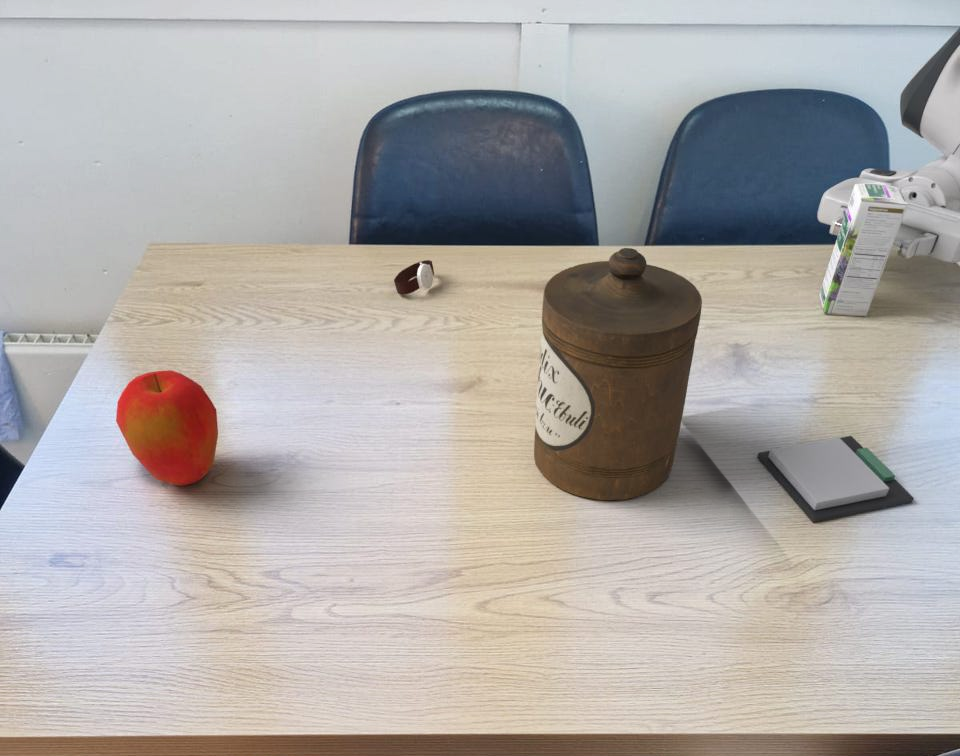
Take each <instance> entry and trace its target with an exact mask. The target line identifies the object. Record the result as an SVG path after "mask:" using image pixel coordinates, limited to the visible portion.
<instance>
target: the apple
mask: <svg viewBox="0 0 960 756" xmlns="http://www.w3.org/2000/svg"><path fill="white" fill-rule="evenodd" d="M217 412H218V411H217V409H216V407H215V405H214V403H213V401H212V399H211V398H210V396H209V395H208V393H207V392H206V391H205V389H204V388H203V387H202V385H201V384H199V383H198V382H196V381H194V380H193V379H192V378H190V377H188V376H186V375H184V374H183V373H180V372H177V371H175V370H172V369H171V370H157V371H151V372H150V371H149V372H146V373H143V374H140V375H138V376H135V378H133V379H131V380H130V381H129V382H128V383H127V385H126V387H124V389H123V391H122V392H121V393H120V396H119V399H118V401H117V406H116V415H115V422H116V424H117V426H118V428H119V431H120V432H121V434H122V436H123V439H124V440H125V442H126V445H127V446H128V448H129V450H130V452H131V454H132V455H133V457H135V459H136V460H137V461H138V462H139V463H140V464H141V465H142V466H143V468H145V469H146V471H147V472H148V473H149V474H150V475H151V476H152V477H153V478H154V479H155V480H158V481H161V482H164V483H167V484H171V485H175V486H190V485H192V484H195V483H197V482H199V481H200V480H201V479H203V478H204V477H205V476H206V475H207V473H208V472H209V471H210V470H211V469H212V467H213V465H214V463H215V458H216V452H217V444H218V439H219V438H218V437H219V427H218V426H219V425H218V413H217Z"/></svg>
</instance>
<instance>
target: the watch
mask: <svg viewBox="0 0 960 756" xmlns="http://www.w3.org/2000/svg"><path fill="white" fill-rule="evenodd" d="M434 275H435V271H434V264H433V261H432V260H429V259H427V260H426V259H425V260H422V261H418V262H416V263H415V262H414V263H413V264H411V265H408V266H407V267H406V268H404V269H402V270H401V271H400V272H398V274H396V276H395V277H394V278H393V283H394V286H395V289H396V293H397V294H398V295H402V296H403V295H409V294H412V293H414V292H416V291H418V290H421V289H422V290H424V291H425V290H426V291H427V290H430V289H431V288H432V286H433V282H434Z"/></svg>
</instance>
